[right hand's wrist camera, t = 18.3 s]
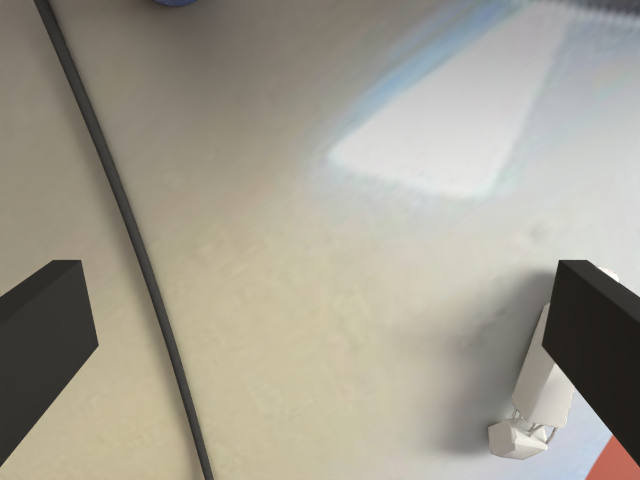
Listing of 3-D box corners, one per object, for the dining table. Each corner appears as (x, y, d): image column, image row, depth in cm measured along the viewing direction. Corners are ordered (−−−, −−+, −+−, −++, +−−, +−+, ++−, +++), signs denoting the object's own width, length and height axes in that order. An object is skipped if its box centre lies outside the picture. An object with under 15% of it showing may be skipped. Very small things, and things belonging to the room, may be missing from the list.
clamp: (568, 254, 37) (615, 299, 31) (609, 263, 37) (665, 310, 31) (476, 423, 45) (499, 485, 39) (511, 430, 45) (539, 493, 39)
